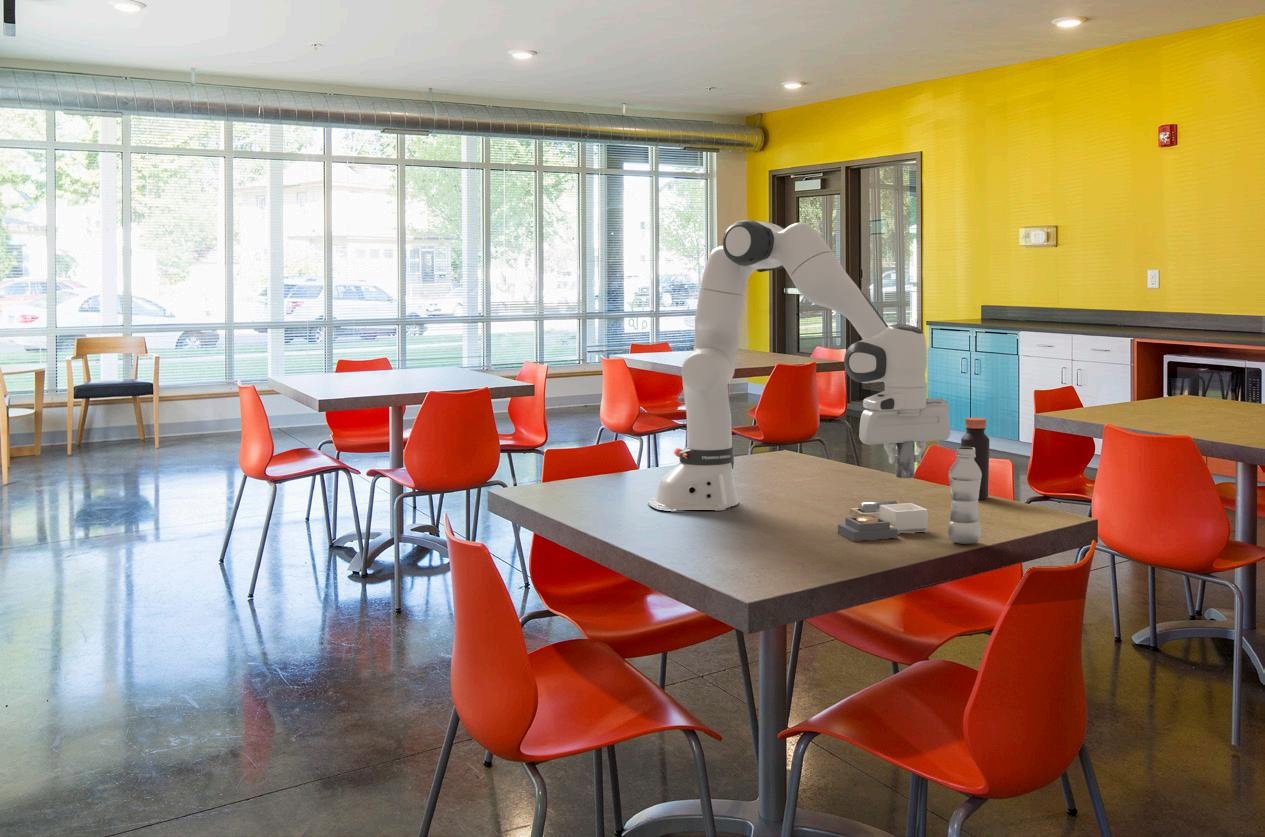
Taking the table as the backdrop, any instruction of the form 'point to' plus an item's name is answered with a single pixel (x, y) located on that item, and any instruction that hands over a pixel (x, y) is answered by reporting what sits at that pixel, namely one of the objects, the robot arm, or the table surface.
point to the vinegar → (978, 449)
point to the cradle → (866, 529)
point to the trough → (856, 513)
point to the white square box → (905, 517)
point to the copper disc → (867, 519)
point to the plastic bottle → (964, 498)
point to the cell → (905, 459)
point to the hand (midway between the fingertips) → (904, 462)
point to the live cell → (873, 506)
